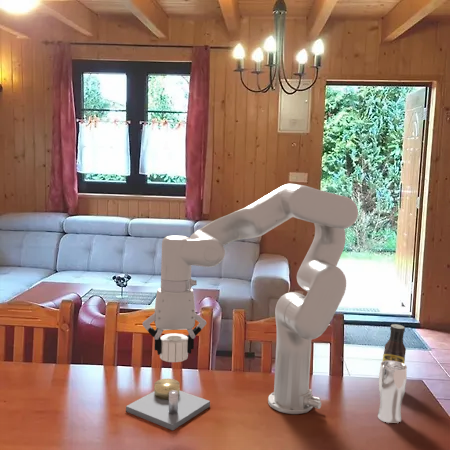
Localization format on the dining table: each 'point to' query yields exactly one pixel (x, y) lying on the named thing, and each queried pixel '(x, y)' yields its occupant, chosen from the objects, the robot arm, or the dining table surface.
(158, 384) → the brass disc
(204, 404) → the board
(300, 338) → the robot arm
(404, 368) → the beer glass
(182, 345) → the ring
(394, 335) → the sauce bottle
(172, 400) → the pin
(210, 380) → the dining table surface
